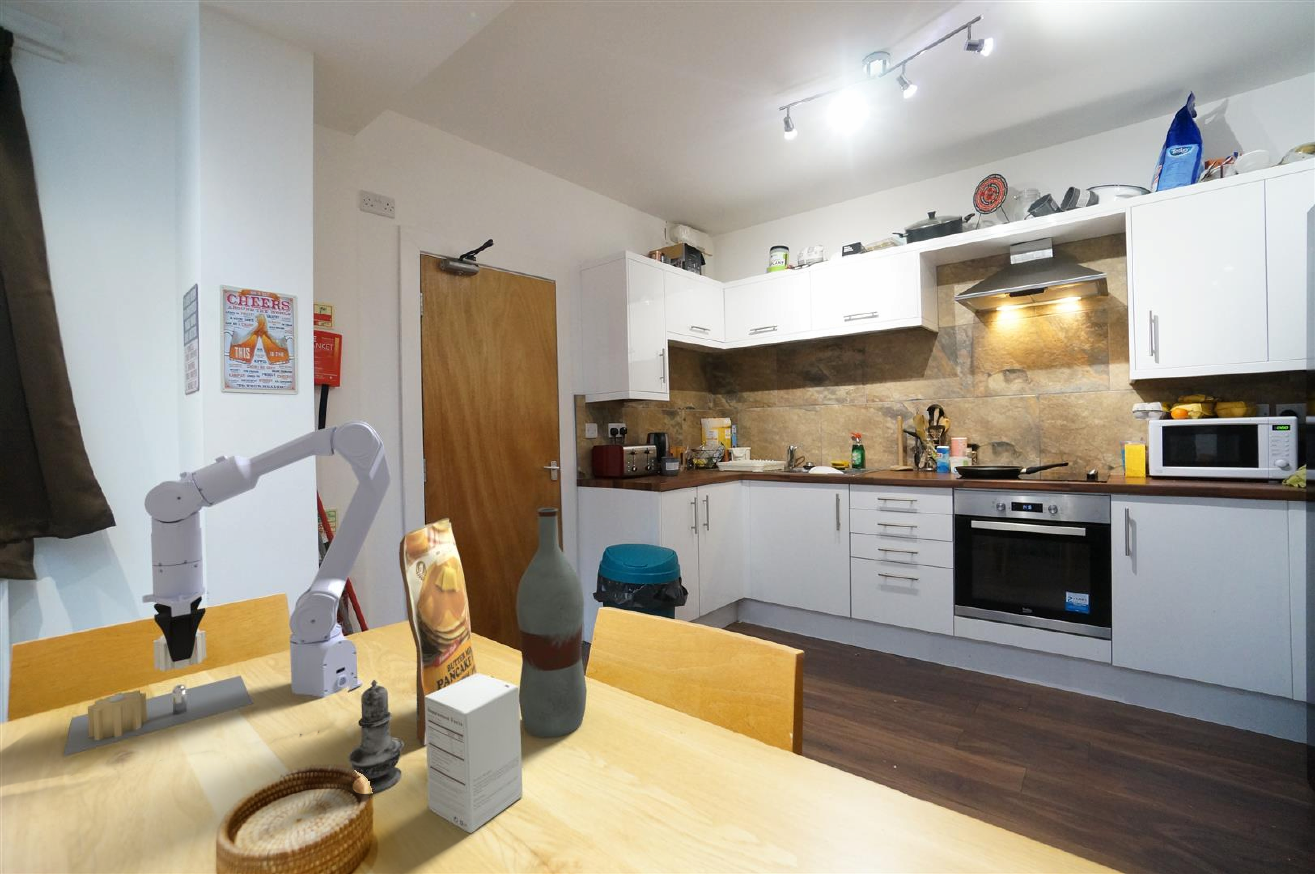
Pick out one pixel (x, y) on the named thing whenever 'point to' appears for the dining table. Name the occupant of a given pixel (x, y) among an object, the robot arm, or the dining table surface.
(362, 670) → the dining table surface
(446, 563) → the pancake mix bag
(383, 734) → the dark grey tall piece
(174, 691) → the steel peg
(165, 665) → the gear
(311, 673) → the robot arm
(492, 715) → the supplement box
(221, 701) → the gear board
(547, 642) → the bottle
